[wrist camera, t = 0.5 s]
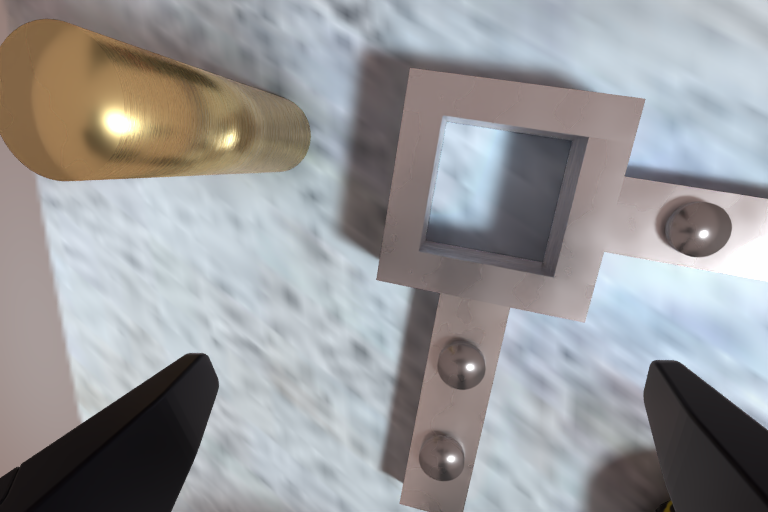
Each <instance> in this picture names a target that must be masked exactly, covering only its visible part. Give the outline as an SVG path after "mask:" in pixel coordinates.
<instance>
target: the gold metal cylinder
mask: <svg viewBox="0 0 768 512" xmlns="http://www.w3.org/2000/svg"><path fill="white" fill-rule="evenodd" d="M0 135H1V137H2V138H3V140H4V142H5V143H6V145H7V147H8V148H9V149H10V151H11V152H12V153H13V154H14V156H15V157H16V158H17V159H18V160H19V161H20V162H21V163H22V164H24V165H25V166H26V167H27V168H29V169H30V170H32V171H33V172H35V173H37V174H38V175H41V176H43V177H46V178H49V179H52V180H57V181H83V180H106V179H128V178H151V177H174V176H197V175H220V174H243V173H266V172H283V171H287V170H290V169H292V168H294V167H295V166H297V165H298V164H299V163H300V162H301V161H302V160H303V159H304V157H305V155H306V154H307V151H308V149H309V145H310V138H311V134H310V126H309V123H308V120H307V118H306V116H305V114H304V113H303V111H302V110H301V109H300V108H299V107H298V106H297V105H296V104H294V103H293V102H291V101H290V100H287V99H285V98H282V97H279V96H276V95H273V94H270V93H268V92H265V91H262V90H259V89H256V88H253V87H250V86H247V85H245V84H242V83H239V82H236V81H233V80H230V79H227V78H224V77H222V76H219V75H216V74H213V73H210V72H207V71H204V70H202V69H199V68H196V67H193V66H190V65H187V64H184V63H181V62H179V61H176V60H173V59H170V58H167V57H164V56H161V55H159V54H156V53H153V52H150V51H147V50H144V49H141V48H138V47H136V46H133V45H130V44H127V43H124V42H121V41H118V40H115V39H113V38H110V37H107V36H104V35H101V34H98V33H95V32H93V31H90V30H87V29H84V28H81V27H78V26H75V25H72V24H70V23H67V22H64V21H59V20H55V19H41V20H35V21H31V22H28V23H26V24H24V25H22V26H20V27H19V28H17V29H16V30H14V31H13V32H12V33H11V34H10V35H9V36H8V37H7V38H6V39H5V41H4V42H3V43H2V45H1V46H0Z"/></svg>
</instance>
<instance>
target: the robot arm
mask: <svg viewBox="0 0 768 512" xmlns="http://www.w3.org/2000/svg"><path fill="white" fill-rule="evenodd" d="M218 388H219V381H218V377H217V375H216V373H215V370H214V368H213V366H212V363H211V361H210V359H209V357H208V356H207V355H206V354H204V353H188V354H186V355H184V356H182V357H181V358H179V359H178V360H176V361H175V362H173V363H172V364H170V365H169V366H167V367H166V368H164V369H163V370H161V371H160V372H158V373H157V374H155V375H154V376H152V377H151V378H149V379H148V380H146V381H145V382H143V383H142V384H140V385H139V386H137V387H136V388H134V389H133V390H131V391H130V392H128V393H127V394H125V395H124V396H122V397H121V398H119V399H118V400H116V401H115V402H113V403H112V404H110V405H109V406H107V407H106V408H104V409H103V410H101V411H100V412H98V413H97V414H95V415H94V416H92V417H91V418H89V419H88V420H86V421H85V422H83V423H82V424H80V425H79V426H77V427H76V428H74V429H73V430H71V431H70V432H68V433H67V434H66V435H64V436H63V437H61V438H60V439H58V440H56V441H55V442H53V443H52V444H51V445H49V446H47V447H46V448H44V449H43V450H42V451H40V452H39V453H37V454H35V455H34V456H32V457H31V458H29V459H28V460H27V461H25V462H23V463H22V464H21V466H20V467H16V468H14V469H13V470H11V471H10V472H8V473H7V474H5V475H4V476H2V477H1V478H0V512H171V511H172V509H173V507H174V504H175V502H176V500H177V498H178V495H179V493H180V491H181V489H182V486H183V484H184V482H185V480H186V477H187V475H188V473H189V471H190V469H191V466H192V464H193V462H194V459H195V457H196V454H197V452H198V449H199V446H200V443H201V440H202V437H203V434H204V431H205V428H206V425H207V422H208V419H209V416H210V413H211V410H212V407H213V404H214V401H215V398H216V395H217V392H218ZM643 396H644V404H645V408H646V412H647V416H648V420H649V424H650V427H651V431H652V435H653V439H654V443H655V447H656V451H657V454H658V458H659V462H660V466H661V470H662V473H663V477H664V481H665V484H666V487H667V490H668V492H669V495H670V498H671V501H672V503H673V506H674V509H675V511H676V512H768V430H767V429H766V428H764V427H763V426H762V425H761V424H759V423H758V422H757V421H755V420H754V419H753V418H752V417H750V416H749V415H748V414H746V413H745V412H744V411H742V410H741V409H740V408H739V407H737V406H736V405H735V404H733V403H732V402H731V401H729V400H728V399H727V398H726V397H724V396H723V395H722V394H720V393H719V392H718V391H717V390H715V389H714V388H713V387H711V386H710V385H709V384H707V383H706V382H705V381H704V380H702V379H701V378H700V377H698V376H697V375H696V374H694V373H693V372H692V371H691V370H689V369H688V368H687V367H685V366H684V365H683V364H681V363H680V362H678V361H674V360H655V361H653V362H652V363H651V364H650V367H649V371H648V375H647V379H646V384H645V388H644V395H643Z"/></svg>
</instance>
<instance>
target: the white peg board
mask: <svg viewBox="0 0 768 512" xmlns="http://www.w3.org/2000/svg"><path fill="white" fill-rule="evenodd" d="M644 103H645V99H642V98H635V97H627V96H620V95H612V94H605V93H597V92H589V91H582V90H574V89H567V88H559V87H552V86H544V85H537V84H529V83H521V82H514V81H506V80H499V79H491V78H484V77H476V76H469V75H461V74H454V73H446V72H438V71H431V70H423V69H416V68H410V71H409V77H408V83H407V90H406V96H405V102H404V109H403V115H402V121H401V128H400V134H399V140H398V146H397V153H396V159H395V165H394V172H393V178H392V184H391V191H390V197H389V203H388V210H387V216H386V222H385V228H384V235H383V241H382V247H381V254H380V260H379V266H378V273H377V279H376V280H379V281H384V282H388V283H393V284H398V285H403V286H408V287H413V288H418V289H423V290H428V291H433V292H437V293H440V296H439V301H438V307H437V312H436V317H435V322H434V327H433V333H432V338H431V343H430V348H429V353H428V358H427V364H426V369H425V374H424V379H423V384H422V390H421V395H420V400H419V405H418V410H417V416H416V421H415V426H414V431H413V436H412V442H411V447H410V452H409V457H408V462H407V467H406V473H405V478H404V483H403V488H402V493H401V499H400V504H402V505H406V506H410V507H413V508H417V509H420V510H424V511H428V512H463V510H464V505H465V501H466V497H467V492H468V488H469V484H470V479H471V475H472V471H473V466H474V462H475V458H476V453H477V449H478V445H479V440H480V436H481V432H482V427H483V423H484V419H485V414H486V410H487V406H488V401H489V397H490V393H491V388H492V384H493V380H494V375H495V371H496V367H497V362H498V358H499V354H500V349H501V345H502V341H503V336H504V332H505V328H506V323H507V319H508V315H509V310H510V307H511V308H516V309H521V310H526V311H530V312H535V313H540V314H545V315H550V316H555V317H560V318H565V319H570V320H574V321H579V322H584V323H585V320H586V316H587V312H588V309H589V305H590V301H591V298H592V294H593V290H594V287H595V283H596V279H597V276H598V272H599V268H600V265H601V261H602V257H603V254H604V252H608V253H613V254H619V255H624V256H630V257H635V258H641V259H646V260H652V261H657V262H663V263H668V264H674V265H679V266H685V267H690V268H696V269H702V270H707V271H713V272H718V273H724V274H729V275H735V276H740V277H746V278H751V279H757V280H762V281H768V199H765V198H758V197H752V196H746V195H739V194H733V193H726V192H720V191H714V190H707V189H701V188H695V187H688V186H682V185H676V184H669V183H663V182H656V181H650V180H644V179H637V178H631V177H625V173H626V169H627V165H628V162H629V158H630V154H631V151H632V147H633V143H634V139H635V136H636V132H637V128H638V125H639V121H640V117H641V114H642V110H643V106H644ZM447 122H450V123H456V124H463V125H470V126H476V127H483V128H490V129H497V130H503V131H510V132H517V133H524V134H530V135H537V136H544V137H551V138H557V139H564V140H571V141H572V144H571V148H570V152H569V156H568V160H567V165H566V169H565V173H564V177H563V181H562V185H561V189H560V193H559V198H558V202H557V206H556V210H555V214H554V218H553V222H552V227H551V231H550V235H549V239H548V243H547V247H546V251H545V255H544V260H543V262H539V261H533V260H528V259H523V258H517V257H512V256H507V255H501V254H496V253H491V252H485V251H480V250H475V249H469V248H464V247H459V246H454V245H448V244H443V243H438V242H432V241H427V240H426V234H427V229H428V223H429V217H430V212H431V206H432V201H433V195H434V190H435V184H436V179H437V173H438V168H439V162H440V156H441V151H442V145H443V140H444V134H445V129H446V123H447Z"/></svg>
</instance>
